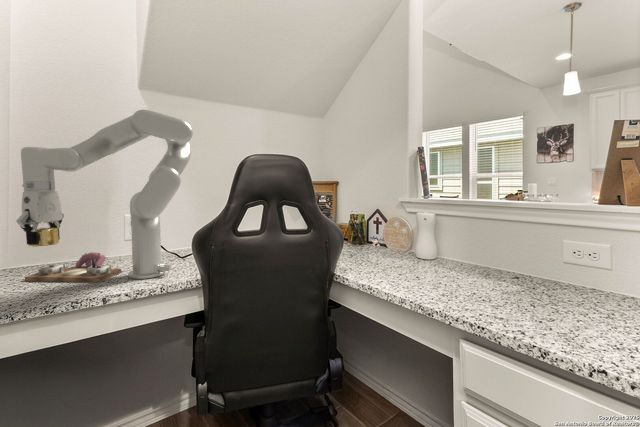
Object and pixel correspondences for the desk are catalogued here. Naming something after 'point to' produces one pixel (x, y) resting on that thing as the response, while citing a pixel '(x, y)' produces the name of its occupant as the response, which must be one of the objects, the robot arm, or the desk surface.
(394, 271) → the desk surface
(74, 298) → the desk surface
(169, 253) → the desk surface
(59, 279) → the gear board
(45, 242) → the brass gear
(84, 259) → the video game controller
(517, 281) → the desk surface
